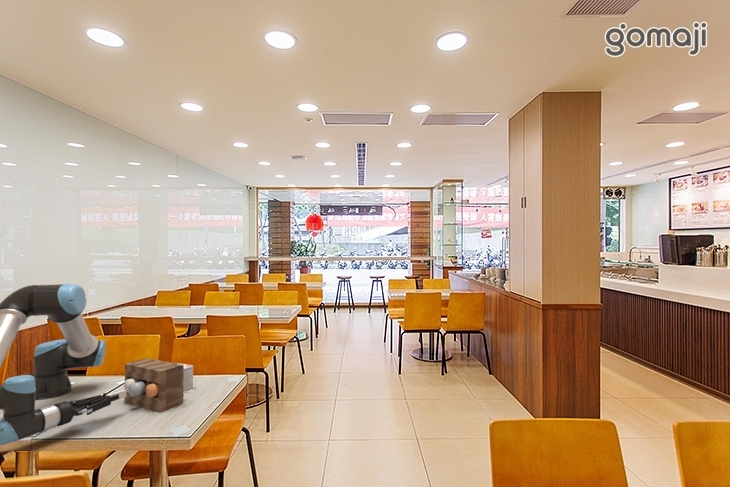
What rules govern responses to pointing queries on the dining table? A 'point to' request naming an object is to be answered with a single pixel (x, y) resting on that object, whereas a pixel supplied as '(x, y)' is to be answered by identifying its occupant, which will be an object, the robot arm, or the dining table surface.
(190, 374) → the light bulb box
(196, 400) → the dining table surface
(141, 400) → the panel
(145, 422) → the dining table surface
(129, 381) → the white button
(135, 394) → the grey button
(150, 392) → the orange button
